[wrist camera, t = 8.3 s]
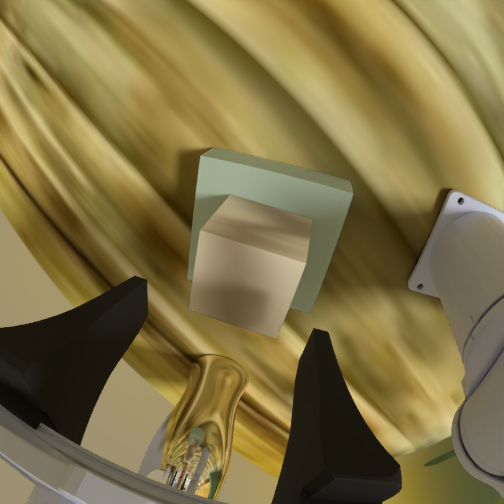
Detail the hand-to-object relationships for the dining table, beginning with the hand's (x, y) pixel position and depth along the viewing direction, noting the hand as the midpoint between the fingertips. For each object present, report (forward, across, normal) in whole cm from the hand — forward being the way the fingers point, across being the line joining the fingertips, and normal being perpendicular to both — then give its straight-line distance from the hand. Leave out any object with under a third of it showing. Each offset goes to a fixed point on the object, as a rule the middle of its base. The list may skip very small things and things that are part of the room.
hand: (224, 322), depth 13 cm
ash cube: (+8, 0, 0) cm, 8 cm away
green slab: (+11, 0, 0) cm, 11 cm away
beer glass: (+11, +1, +18) cm, 21 cm away
